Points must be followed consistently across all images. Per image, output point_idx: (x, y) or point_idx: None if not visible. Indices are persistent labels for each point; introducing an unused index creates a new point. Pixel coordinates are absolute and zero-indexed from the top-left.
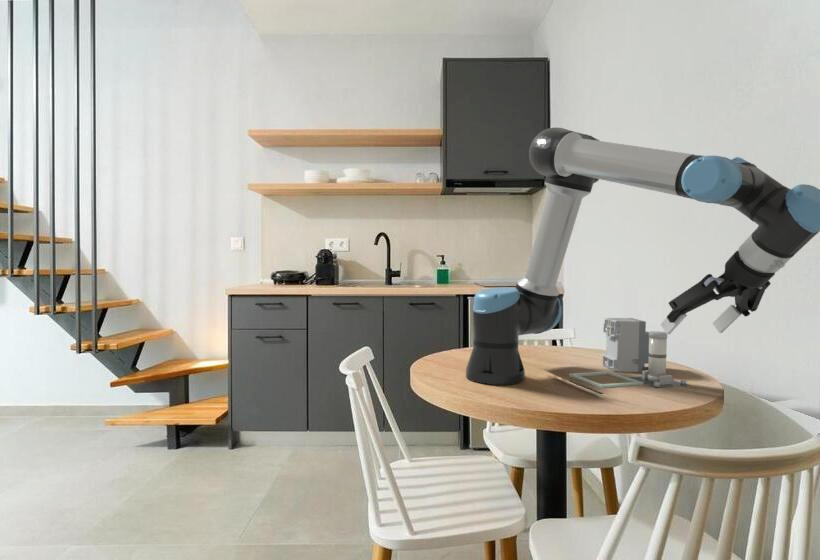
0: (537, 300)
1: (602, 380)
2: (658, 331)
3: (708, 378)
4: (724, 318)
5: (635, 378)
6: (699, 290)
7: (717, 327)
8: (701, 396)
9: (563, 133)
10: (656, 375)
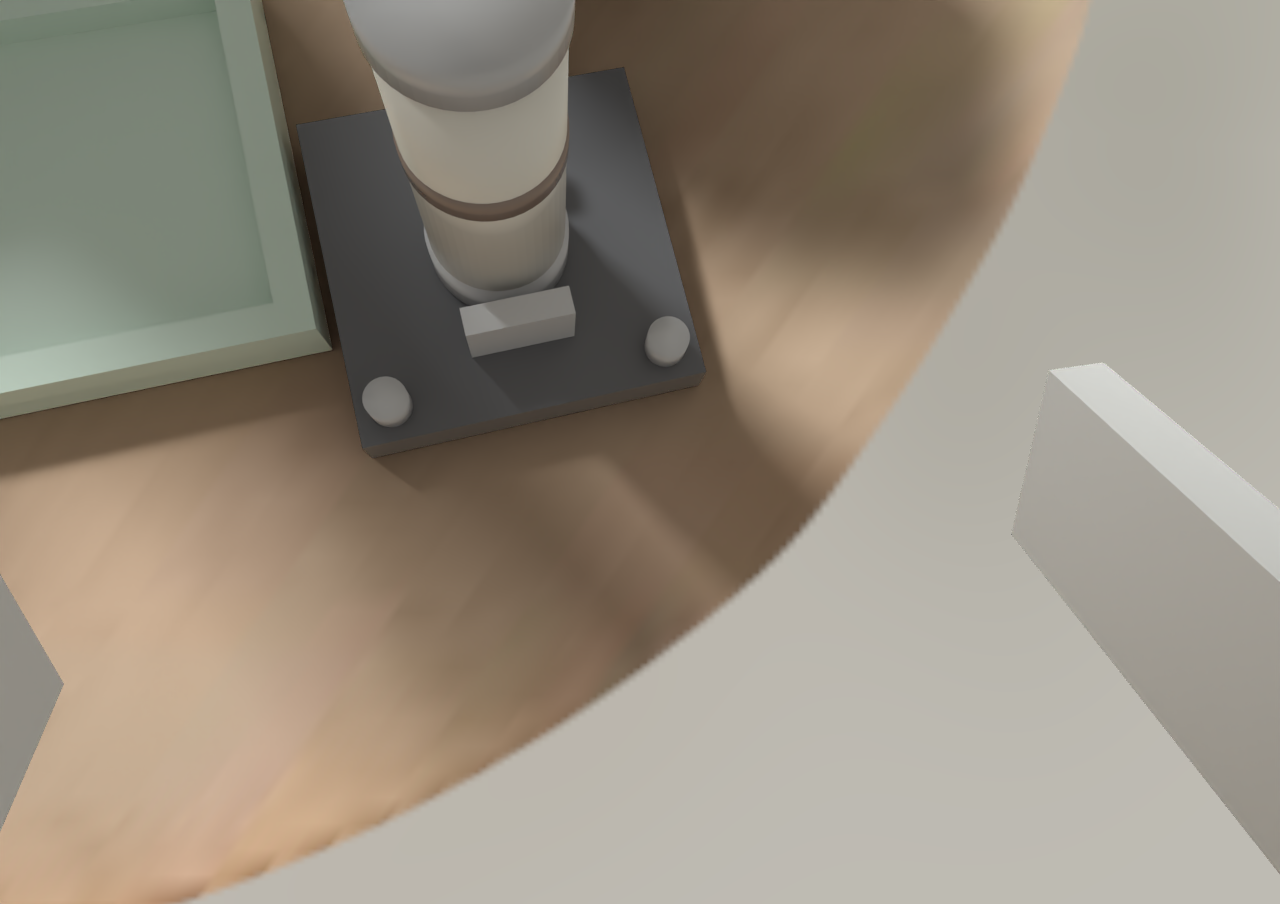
0: None
1: None
2: None
3: (1074, 49)
4: (1186, 616)
5: (372, 153)
6: None
7: (1042, 486)
8: (696, 520)
9: None
10: (455, 274)
